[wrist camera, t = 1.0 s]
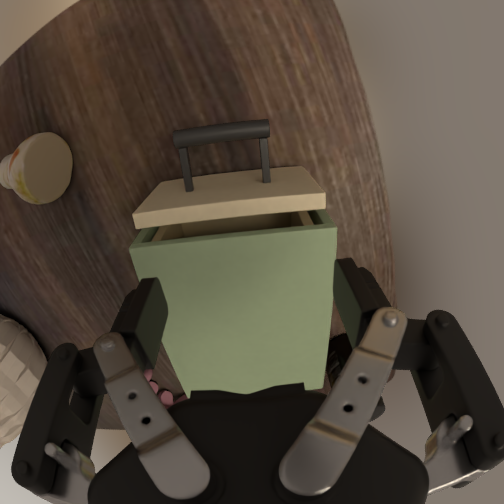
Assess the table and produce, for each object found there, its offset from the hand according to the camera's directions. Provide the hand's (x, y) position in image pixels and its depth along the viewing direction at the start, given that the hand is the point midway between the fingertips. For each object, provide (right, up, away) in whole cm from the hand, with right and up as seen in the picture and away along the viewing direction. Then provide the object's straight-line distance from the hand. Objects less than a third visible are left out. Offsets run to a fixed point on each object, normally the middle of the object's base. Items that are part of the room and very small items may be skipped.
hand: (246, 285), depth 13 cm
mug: (-23, +11, +12) cm, 29 cm away
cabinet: (-1, -1, +20) cm, 20 cm away
